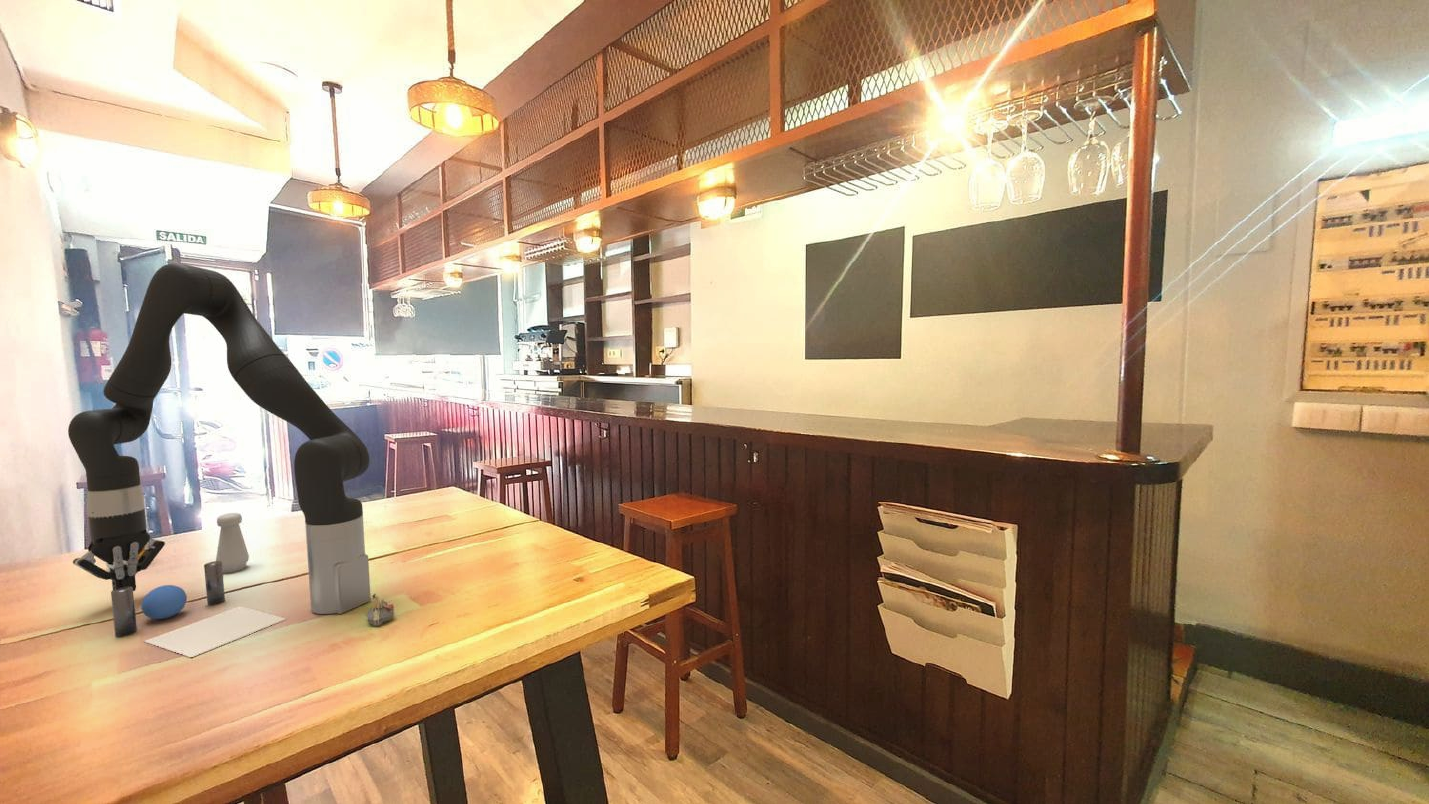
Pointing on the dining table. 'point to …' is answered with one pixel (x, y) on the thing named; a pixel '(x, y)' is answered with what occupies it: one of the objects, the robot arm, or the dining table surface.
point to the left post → (123, 611)
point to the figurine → (380, 612)
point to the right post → (214, 582)
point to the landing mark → (214, 631)
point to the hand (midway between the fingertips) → (125, 595)
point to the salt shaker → (231, 543)
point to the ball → (163, 602)
